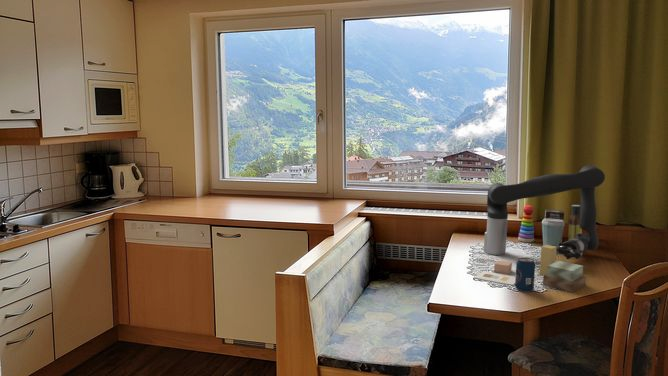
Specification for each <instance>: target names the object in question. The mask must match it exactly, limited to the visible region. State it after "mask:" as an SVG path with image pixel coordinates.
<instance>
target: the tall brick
mask: <svg viewBox="0 0 668 376" xmlns="http://www.w3.org/2000/svg"><path fill="white" fill-rule="evenodd" d="M540 248H541V249H540V260H539V261H540V262H539V264H540V265H539V275H542V276H544V275H546V274H547V271H548V265H550V264H552V263H555V262H557V261H556V260H557V255H556V246H550V245H544V246H543V245H542V246H541V247H540Z"/></svg>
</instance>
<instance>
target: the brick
mask: <svg viewBox="0 0 668 376" xmlns="http://www.w3.org/2000/svg"><path fill="white" fill-rule="evenodd" d="M493 266H494V267H493V270H494V271H493V273H498V274H504V275H509V276H510V273H511V272H512V267H513V263H512V261H506V260H499V259H498V260H496V261H495V263H494V265H493Z"/></svg>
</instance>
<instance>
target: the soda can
mask: <svg viewBox="0 0 668 376" xmlns="http://www.w3.org/2000/svg"><path fill="white" fill-rule="evenodd" d="M515 265H516V267H515V277H516V278H515V284H514V286H515V289H516V290H517V291H520V292H523V293H524V292H525V293H526V292H527V293H528V292H532V291H533V290H534V287H535V276H536V275H535V274H536V262H535V260H534V259H533V258H531V257H523V256H522V257H519V258H518V260H517V261H516V263H515Z"/></svg>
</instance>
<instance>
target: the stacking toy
mask: <svg viewBox="0 0 668 376" xmlns="http://www.w3.org/2000/svg"><path fill="white" fill-rule="evenodd" d="M522 210H523V215H522V218H521V226H520V230H519V232H518V237H517V239H518V241H520V242H522V243H534V241H535V238H534V237H535V235H534V233H535V230H534V229H535V227H534V224H535V223H534V220H533V218H534V215H533V213H534V212H535V211H534V207H533V206H532V205H530V204H527V205H525V206H524V207H523V208H522Z"/></svg>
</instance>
